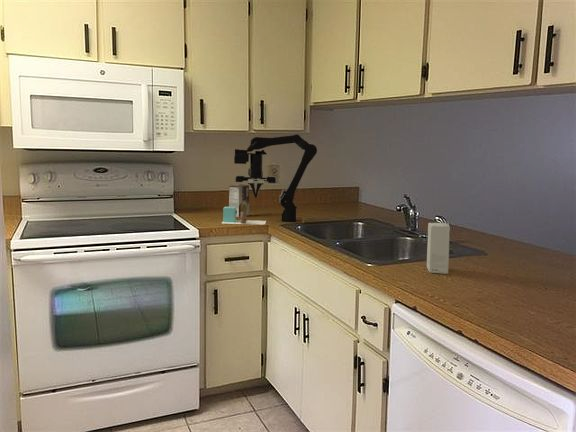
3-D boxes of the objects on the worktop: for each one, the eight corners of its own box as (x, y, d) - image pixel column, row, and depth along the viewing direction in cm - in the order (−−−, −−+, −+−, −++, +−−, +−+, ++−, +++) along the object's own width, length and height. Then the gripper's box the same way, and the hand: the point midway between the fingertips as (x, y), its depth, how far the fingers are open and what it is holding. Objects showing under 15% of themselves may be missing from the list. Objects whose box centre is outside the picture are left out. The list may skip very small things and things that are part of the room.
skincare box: (448, 274, 154) (451, 226, 152) (428, 273, 155) (431, 225, 153) (444, 267, 162) (447, 222, 160) (425, 266, 163) (428, 221, 161)
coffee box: (239, 215, 260) (239, 184, 258) (249, 216, 257) (249, 184, 254) (228, 217, 252) (228, 185, 250) (238, 218, 249) (239, 186, 247)
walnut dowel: (246, 224, 233) (246, 211, 232) (245, 225, 231) (245, 212, 230) (240, 224, 233) (241, 211, 232) (240, 225, 231) (240, 212, 230)
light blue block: (235, 220, 238) (235, 206, 237) (234, 222, 233) (234, 208, 232) (224, 220, 238) (224, 206, 237) (223, 222, 233) (223, 208, 232)
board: (266, 222, 239) (266, 220, 239) (264, 226, 230) (264, 224, 229) (224, 221, 240) (224, 219, 240) (221, 225, 230) (221, 223, 230)
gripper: (277, 163, 242) (276, 196, 244) (238, 162, 243) (238, 195, 245) (275, 165, 231) (275, 198, 233) (235, 164, 232) (235, 197, 234)
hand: (255, 197), depth 237 cm, fingers closed
